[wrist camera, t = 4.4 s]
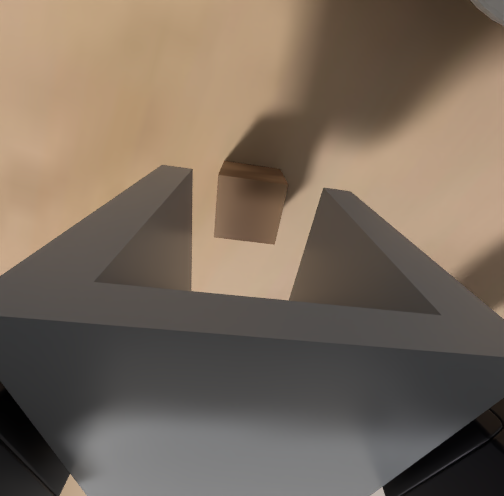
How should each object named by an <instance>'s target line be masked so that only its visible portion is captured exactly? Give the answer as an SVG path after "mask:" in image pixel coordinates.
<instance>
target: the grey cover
mask: <svg viewBox="0 0 504 496" xmlns="http://www.w3.org/2000/svg"><path fill="white" fill-rule="evenodd" d="M192 170H193V169H188V168H181V167H174V166H167V165H161V166H160V167H158V168H157V169H155V170H154V171H153V172H151V173H150V174H148V175H147V176H145V177H144V178H142V179H141V180H139V181H138V182H137V183H135V184H134V185H132V186H131V187H129V188H128V189H126V190H125V191H123V192H122V193H121V194H119V195H118V196H116V197H115V198H113V199H112V200H110V201H109V202H107V203H106V204H105V205H103V206H102V207H100V208H99V209H97V210H96V211H94V212H93V213H91V214H90V215H89V216H87V217H86V218H84V219H83V220H81V221H80V222H78V223H77V224H75V225H74V226H73V227H71V228H70V229H68V230H67V231H65V232H64V233H62V234H61V235H59V236H58V237H57V238H55V239H54V240H52V241H51V242H49V243H48V244H46V245H45V246H43V247H42V248H41V249H39V250H38V251H36V252H35V253H33V254H32V255H30V256H29V257H27V258H26V259H25V260H23V261H22V262H20V263H19V264H17V265H16V266H14V267H13V268H11V269H10V270H9V271H7V272H6V273H4V274H3V275H1V276H0V381H1V383H2V384H3V385H4V386H5V388H6V389H7V390H8V392H9V393H10V394H11V396H12V397H13V398H14V400H15V401H16V402H17V404H18V405H19V406H20V408H21V409H22V410H23V412H24V413H25V414H26V416H27V417H28V418H29V420H30V421H31V422H32V424H33V425H34V426H35V428H36V429H37V430H38V431H39V433H40V434H41V435H42V437H43V438H44V439H45V441H46V442H47V443H48V445H49V446H50V447H51V449H52V450H53V451H54V453H55V454H56V455H57V457H58V458H59V459H60V461H61V462H62V463H63V465H64V466H65V467H66V469H67V470H68V471H69V473H70V474H71V475H72V476H73V478H74V479H75V480H76V481H77V483H78V484H79V486H80V487H81V488H82V490H83V491H84V492H85V494H86V495H87V496H370V495H371V494H373V493H374V492H376V491H377V490H378V489H380V488H381V487H383V486H384V485H385V484H387V483H388V482H389V481H391V480H392V479H393V478H395V477H396V476H398V475H399V474H400V473H402V472H403V471H404V470H406V469H407V468H409V467H410V466H411V465H413V464H414V463H415V462H417V461H418V460H419V459H421V458H422V457H424V456H425V455H426V454H428V453H429V452H430V451H432V450H433V449H434V448H436V447H437V446H439V445H440V444H441V443H443V442H444V441H445V440H447V439H448V438H449V437H451V436H452V435H454V434H455V433H456V432H458V431H459V430H460V429H462V428H463V427H464V426H466V425H467V424H469V423H470V422H471V421H473V420H474V419H475V418H477V417H478V416H479V415H481V414H482V413H484V412H485V411H486V410H488V409H489V408H490V407H492V406H493V405H494V404H496V403H497V402H499V401H500V400H501V399H503V398H504V319H503V318H502V317H500V316H499V315H498V314H497V313H496V312H494V311H493V310H492V309H491V308H490V307H488V306H487V305H486V304H485V303H484V302H482V301H481V300H480V299H479V298H478V297H476V296H475V295H474V294H473V293H472V292H470V291H469V290H468V289H467V288H466V287H464V286H463V285H462V284H461V283H460V282H458V281H457V280H456V279H455V278H454V277H452V276H451V275H450V274H449V273H448V272H446V271H445V270H444V269H443V268H442V267H440V266H439V265H438V264H437V263H436V262H434V261H433V260H432V259H431V258H430V257H428V256H427V255H426V254H425V253H424V252H422V251H421V250H420V249H419V248H418V247H416V246H415V245H414V244H413V243H412V242H410V241H409V240H408V239H407V238H406V237H404V236H403V235H402V234H401V233H400V232H398V231H397V230H396V229H395V228H394V227H392V226H391V225H390V224H389V223H388V222H386V221H385V220H384V219H383V218H382V217H380V216H379V215H378V214H377V213H376V212H374V211H373V210H372V209H371V208H370V207H368V206H367V205H366V204H365V203H364V202H362V201H361V200H360V199H359V198H358V197H356V196H355V195H354V194H353V193H352V192H350V191H344V190H337V189H330V188H323V191H322V194H321V197H320V201H319V204H318V207H317V210H316V214H315V217H314V220H313V223H312V227H311V230H310V233H309V236H308V240H307V243H306V246H305V250H304V253H303V256H302V259H301V263H300V266H299V269H298V272H297V276H296V279H295V282H294V285H293V289H292V292H291V295H290V298H289V301H287V300H277V299H266V298H256V297H246V296H235V295H225V294H214V293H204V292H194V291H191V269H192Z"/></svg>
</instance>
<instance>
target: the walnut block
mask: <svg viewBox="0 0 504 496" xmlns="http://www.w3.org/2000/svg"><path fill="white" fill-rule="evenodd" d="M287 189H288V183H287V181H286V179H285V178H284V176H283V174H282V172H281V170H280V169H276V168H269V167H263V166H256V165H249V164H243V163H236V162H229V161H224V163H223V165H222V168H221V170H220V172H219V175H218V187H217V202H216V216H215V230H214V237H216V238H225V239H233V240H241V241H250V242H258V243H266V244H275V241H276V236H277V232H278V228H279V223H280V219H281V215H282V210H283V206H284V202H285V197H286V193H287Z"/></svg>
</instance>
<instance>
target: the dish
mask: <svg viewBox="0 0 504 496" xmlns="http://www.w3.org/2000/svg"><path fill="white" fill-rule="evenodd" d="M470 1H471V2H472V3H473V4H474V5H475V6H476V7H477V9H479V10H480V11H481V12H483V13H484V14H485V15H486V16H488V17H489V18H490V19H491V20H493V21H495V22H497V23H499V24H500V25H502V26H504V0H470Z"/></svg>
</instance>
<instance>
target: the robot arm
mask: <svg viewBox="0 0 504 496" xmlns="http://www.w3.org/2000/svg"><path fill="white" fill-rule="evenodd" d="M69 475H70V473H69V471H68V470H67V469H66V467H65V466H64V465H63V463H62V462H61V461H60V459H59V458H58V457H57V455H56V454H55V453H54V451H53V450H52V449H51V447H50V446H49V445H48V443H47V442H46V441H45V439H44V438H43V437H42V435H41V434H40V433H39V431H38V430H37V429H36V428H35V426H34V425H33V424H32V422H31V421H30V420H29V418H28V417H27V416H26V414H25V413H24V412H23V410H22V409H21V408H20V406H19V405H18V404H17V402H16V401H15V400H14V398H13V397H12V396H11V394H10V393H9V392H8V390H7V389H6V388H5V386H4V385H3V384H2V383H1V381H0V496H59V495H60V493H61V491H62V489H63V487H64V485H65V483H66V481H67V479H68V477H69ZM383 490H384V493H385V496H504V398H503V399H501V400H500V401H499V402H497V403H496V404H494V405H493V406H492V407H490V408H489V409H488V410H486V411H485V412H484V413H482V414H481V415H479V416H478V417H477V418H475V419H474V420H473V421H471V422H470V423H469V424H467V425H466V426H464V427H463V428H462V429H460V430H459V431H458V432H456V433H455V434H454V435H452V436H451V437H449V438H448V439H447V440H445V441H444V442H443V443H441V444H440V445H439V446H437V447H436V448H434V449H433V450H432V451H430V452H429V453H428V454H426V455H425V456H424V457H422V458H421V459H419V460H418V461H417V462H415V463H414V464H413V465H411V466H410V467H409V468H407V469H406V470H404V471H403V472H402V473H400V474H399V475H398V476H396V477H395V478H393V479H392V480H391V481H389V482H388V483H387V484H385V485H384V486H383Z"/></svg>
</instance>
